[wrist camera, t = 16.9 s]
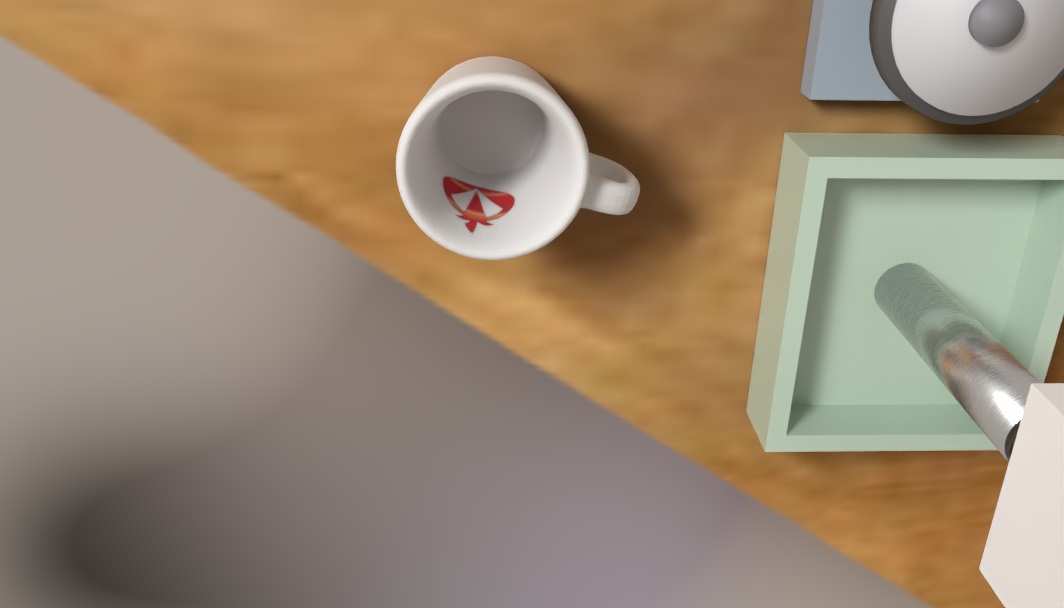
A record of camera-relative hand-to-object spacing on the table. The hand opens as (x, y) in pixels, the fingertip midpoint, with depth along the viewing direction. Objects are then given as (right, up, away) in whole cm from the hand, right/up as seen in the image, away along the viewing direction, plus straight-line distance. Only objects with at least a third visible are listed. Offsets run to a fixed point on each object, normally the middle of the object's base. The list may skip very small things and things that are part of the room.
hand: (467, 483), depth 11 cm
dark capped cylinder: (+20, +3, +39) cm, 44 cm away
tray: (+20, +3, +40) cm, 45 cm away
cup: (0, +11, +36) cm, 37 cm away
